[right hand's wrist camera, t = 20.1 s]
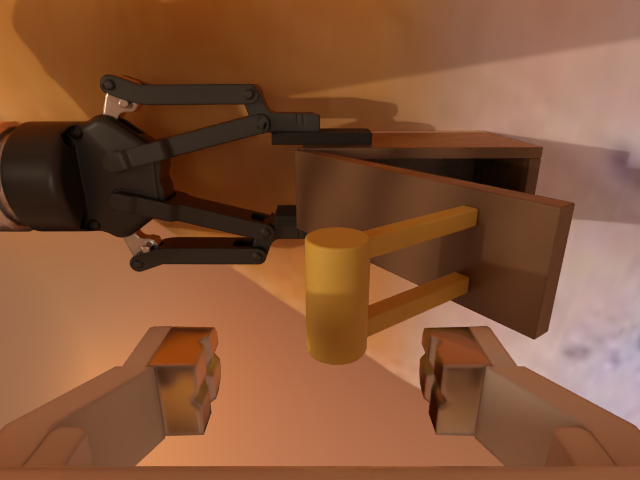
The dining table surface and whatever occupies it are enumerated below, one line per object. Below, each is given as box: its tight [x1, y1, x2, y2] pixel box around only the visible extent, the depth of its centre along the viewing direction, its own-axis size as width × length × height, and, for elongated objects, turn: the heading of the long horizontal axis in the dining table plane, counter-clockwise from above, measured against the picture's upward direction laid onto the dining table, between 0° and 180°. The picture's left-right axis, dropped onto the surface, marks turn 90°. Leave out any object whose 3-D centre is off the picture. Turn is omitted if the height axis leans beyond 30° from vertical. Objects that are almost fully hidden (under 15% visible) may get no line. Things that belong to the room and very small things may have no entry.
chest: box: [302, 131, 543, 195], centre depth 31 cm, size 15×5×10 cm, turn 90°
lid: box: [295, 149, 575, 365], centre depth 18 cm, size 16×5×8 cm
